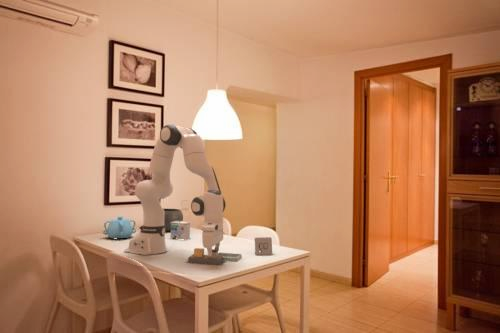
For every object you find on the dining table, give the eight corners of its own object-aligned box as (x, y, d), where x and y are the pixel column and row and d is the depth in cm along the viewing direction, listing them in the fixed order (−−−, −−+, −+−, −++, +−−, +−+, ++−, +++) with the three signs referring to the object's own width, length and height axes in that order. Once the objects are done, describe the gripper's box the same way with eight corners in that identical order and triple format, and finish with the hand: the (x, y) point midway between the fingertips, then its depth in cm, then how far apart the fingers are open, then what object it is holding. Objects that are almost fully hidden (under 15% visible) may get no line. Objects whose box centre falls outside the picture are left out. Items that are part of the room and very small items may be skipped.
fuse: (193, 261, 178) (194, 249, 178) (195, 260, 180) (195, 248, 180) (202, 262, 177) (202, 249, 177) (203, 261, 179) (204, 248, 179)
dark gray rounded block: (168, 234, 252) (169, 212, 252) (147, 231, 262) (147, 209, 262) (188, 230, 269) (188, 209, 269) (167, 227, 280) (168, 207, 280)
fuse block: (184, 264, 176) (185, 257, 176) (191, 260, 183) (191, 253, 183) (221, 267, 171) (221, 260, 171) (226, 263, 179) (226, 256, 179)
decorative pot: (120, 234, 247) (120, 214, 247) (138, 237, 240) (138, 216, 240) (100, 238, 233) (100, 217, 233) (119, 241, 226) (119, 219, 226)
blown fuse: (207, 262, 176) (207, 250, 176) (209, 261, 178) (209, 249, 178) (216, 263, 175) (216, 250, 175) (217, 262, 177) (217, 249, 177)
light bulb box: (170, 238, 236) (170, 221, 236) (175, 237, 243) (176, 220, 243) (184, 240, 232) (184, 223, 232) (190, 238, 239) (190, 221, 239)
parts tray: (213, 261, 182) (213, 256, 182) (218, 257, 191) (219, 252, 191) (236, 263, 179) (236, 258, 179) (241, 259, 188) (241, 254, 188)
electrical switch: (255, 255, 196) (255, 237, 197) (253, 254, 201) (253, 237, 202) (272, 255, 198) (272, 237, 198) (270, 254, 203) (270, 236, 204)
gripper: (214, 221, 187) (214, 248, 187) (200, 227, 168) (199, 258, 168) (226, 221, 186) (226, 249, 186) (213, 228, 166) (213, 258, 166)
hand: (213, 253), depth 177 cm, fingers open, 8 cm apart
